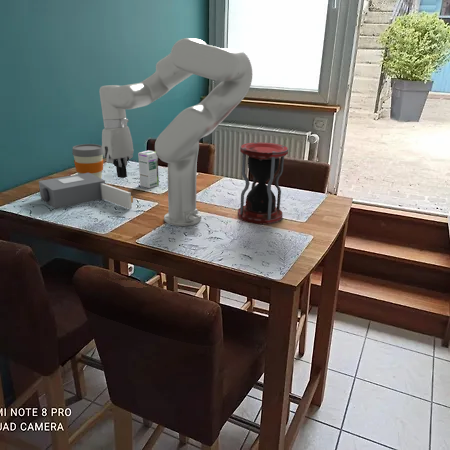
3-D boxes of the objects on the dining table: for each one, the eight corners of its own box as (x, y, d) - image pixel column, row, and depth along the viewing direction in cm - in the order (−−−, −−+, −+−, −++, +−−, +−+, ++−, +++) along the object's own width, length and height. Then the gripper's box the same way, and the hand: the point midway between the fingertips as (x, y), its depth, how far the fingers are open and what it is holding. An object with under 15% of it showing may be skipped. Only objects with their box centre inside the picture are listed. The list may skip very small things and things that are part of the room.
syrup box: (149, 188, 180) (147, 154, 174) (139, 185, 183) (137, 151, 177) (159, 185, 184) (158, 152, 178) (149, 182, 187) (148, 149, 182)
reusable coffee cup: (109, 178, 192) (107, 144, 186) (99, 186, 180) (96, 151, 174) (82, 176, 193) (79, 143, 187) (70, 184, 181) (66, 149, 175)
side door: (105, 197, 166) (104, 182, 164) (134, 207, 157) (133, 191, 154) (100, 198, 165) (99, 183, 163) (129, 209, 155) (128, 193, 153)
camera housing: (106, 198, 167) (105, 180, 164) (52, 209, 154) (49, 190, 151) (90, 189, 177) (88, 172, 174) (37, 199, 163) (35, 181, 161)
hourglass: (230, 210, 158) (233, 143, 149) (270, 206, 164) (275, 141, 154) (248, 227, 144) (252, 153, 135) (290, 221, 150) (297, 151, 140)
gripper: (125, 120, 152) (131, 171, 158) (89, 126, 141) (98, 180, 147) (139, 121, 147) (145, 173, 154) (104, 127, 136) (112, 183, 143)
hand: (122, 177), depth 151 cm, fingers closed
